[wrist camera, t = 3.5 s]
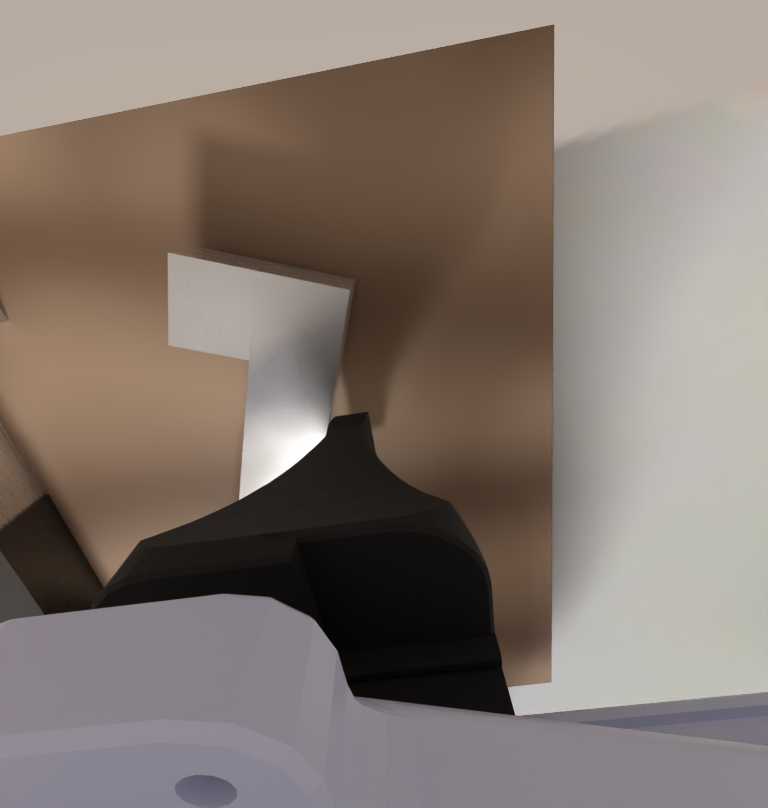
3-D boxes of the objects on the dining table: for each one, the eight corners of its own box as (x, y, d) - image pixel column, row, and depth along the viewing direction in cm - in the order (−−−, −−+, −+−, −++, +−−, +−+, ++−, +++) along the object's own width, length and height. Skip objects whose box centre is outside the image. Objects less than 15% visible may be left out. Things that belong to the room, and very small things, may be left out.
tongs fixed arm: (167, 614, 16) (135, 672, 14) (72, 626, 16) (28, 684, 14) (-29, 242, 10) (-128, 246, 8) (-167, 268, 11) (-296, 277, 9)
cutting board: (538, 648, 19) (551, 682, 17) (107, 696, 20) (86, 731, 18) (530, 53, 10) (554, 24, 9) (-232, 204, 11) (-318, 200, 10)
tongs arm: (287, 702, 18) (273, 773, 15) (142, 685, 17) (105, 756, 15) (359, 279, 11) (353, 293, 8) (118, 229, 10) (40, 229, 8)
